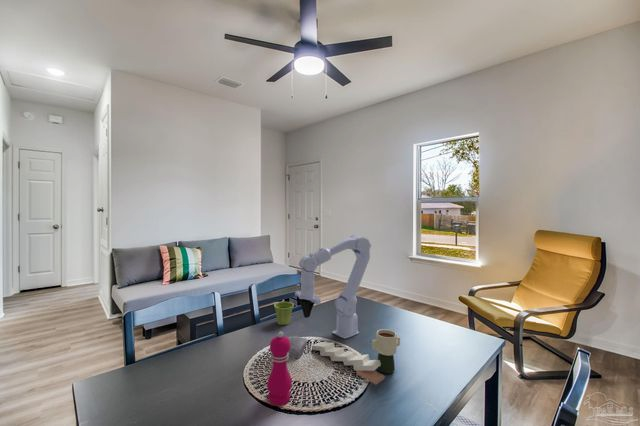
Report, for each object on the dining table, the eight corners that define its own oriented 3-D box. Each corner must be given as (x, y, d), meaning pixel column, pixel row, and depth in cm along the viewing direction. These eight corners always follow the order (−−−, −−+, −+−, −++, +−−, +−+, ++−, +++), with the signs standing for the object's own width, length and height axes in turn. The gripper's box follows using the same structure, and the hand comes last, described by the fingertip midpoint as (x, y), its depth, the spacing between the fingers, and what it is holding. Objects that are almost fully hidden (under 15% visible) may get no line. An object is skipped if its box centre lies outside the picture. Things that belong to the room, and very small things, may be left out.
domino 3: (338, 351, 113) (354, 351, 108) (339, 356, 113) (356, 356, 108) (330, 356, 109) (346, 356, 104) (331, 361, 109) (347, 361, 104)
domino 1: (321, 341, 121) (334, 342, 115) (321, 346, 120) (334, 347, 115) (311, 345, 117) (324, 346, 112) (312, 349, 117) (325, 351, 111)
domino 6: (365, 366, 104) (384, 375, 99) (365, 370, 105) (384, 380, 99) (356, 371, 101) (376, 381, 95) (356, 376, 101) (375, 386, 95)
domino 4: (349, 355, 110) (368, 354, 106) (350, 360, 110) (369, 359, 106) (343, 360, 106) (362, 359, 102) (344, 365, 106) (363, 364, 102)
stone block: (276, 361, 111) (302, 359, 110) (274, 349, 112) (300, 346, 110) (285, 347, 123) (308, 345, 122) (283, 336, 123) (306, 333, 122)
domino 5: (360, 360, 107) (379, 359, 102) (362, 365, 107) (381, 364, 102) (353, 365, 103) (372, 365, 98) (354, 370, 103) (373, 370, 98)
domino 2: (329, 347, 117) (343, 347, 111) (330, 351, 116) (344, 352, 110) (319, 351, 113) (333, 351, 108) (320, 355, 113) (334, 356, 107)
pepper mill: (267, 391, 91) (269, 326, 90) (291, 390, 91) (292, 326, 91) (265, 407, 84) (266, 337, 83) (291, 406, 84) (292, 337, 84)
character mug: (393, 362, 109) (394, 327, 109) (404, 373, 102) (405, 335, 102) (366, 366, 106) (367, 330, 105) (376, 378, 99) (377, 339, 99)
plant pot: (297, 321, 144) (297, 304, 144) (284, 328, 136) (285, 309, 136) (282, 317, 149) (282, 300, 149) (269, 323, 141) (269, 305, 141)
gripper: (289, 282, 127) (289, 314, 128) (311, 290, 117) (310, 324, 117) (302, 280, 132) (301, 310, 132) (324, 287, 121) (323, 320, 122)
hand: (306, 316), depth 125 cm, fingers closed
